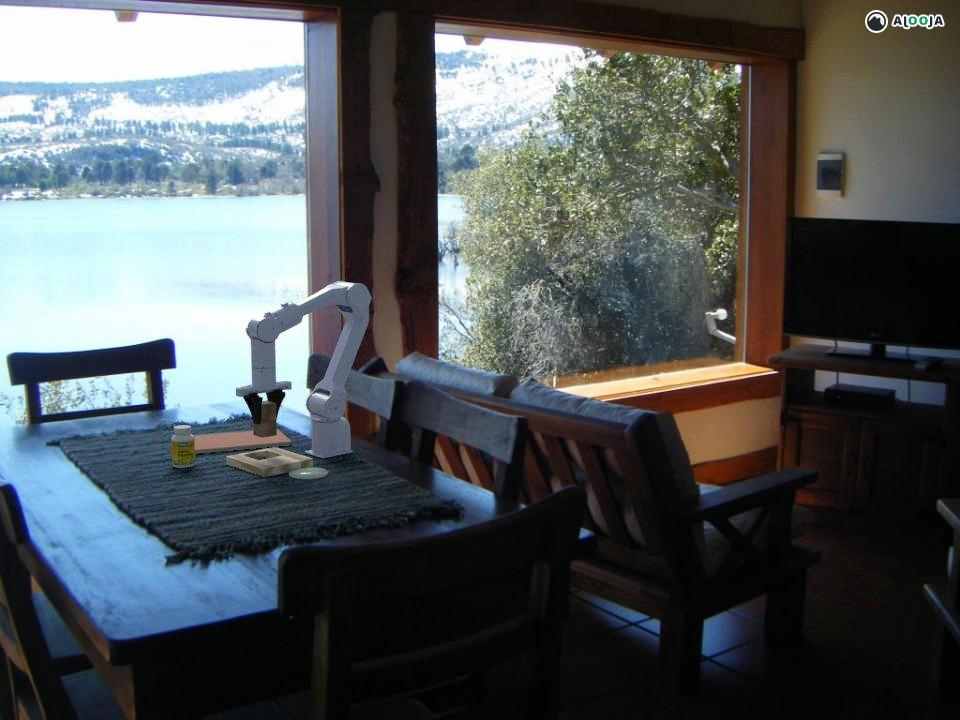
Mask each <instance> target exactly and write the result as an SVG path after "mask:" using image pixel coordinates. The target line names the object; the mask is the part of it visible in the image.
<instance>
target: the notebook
mask: <svg viewBox="0 0 960 720" xmlns="http://www.w3.org/2000/svg"><path fill="white" fill-rule="evenodd" d="M192 435H193V436H194V440H195V455H200V453H203V454H212V453H211V452H216V453H222V452H221V451H228V452H234V451H233V450H239V451H245V450H244V449H250V450H257V449H256V448H262V449H267V447H276V448H280V447H279V446H285V447H290V446H291V445H290V443H292V440H291V439H290V438H288V437H287V435H285V434H284V433H283V432H281V430H279V429H278V428H277V435H275V436H270V437H264V438H262V437H258V436H255V435H253V429H251V430H250V429H249V430H248V429H247V430H241V431H240V430H238V431H237V430H236V431H233V432H232V431H228V432H227V431H226V432H224V431H223V432H217V433H216V432H214V433H213V432H212V433H201V434H195V435H194V434H192ZM289 445H290V446H289ZM198 453H199V454H198Z"/></svg>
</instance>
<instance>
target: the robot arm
mask: <svg viewBox="0 0 960 720" xmlns="http://www.w3.org/2000/svg"><path fill="white" fill-rule="evenodd" d="M372 299H373V298H372V295H371V294H370V291H369V289H368V287H367V286H366V285H365V284H363V283H359V282H357V283H356V282H355V283H354V282H347V281H344V280H337V281H335V282H333V283H331V284H328V285H326V286H325V287H324V288H322V289H321V290H319V291H317V292H316V293H314V294H312V295H310V296H308V297H307V298H305V299H302V300H301V301H300V302H298V303H294V302H293V301H292V302H290V301H289V302H286V301H284V302H282V303H280V306H279V307H277V308H275V309H274V310H271V311H269V310H267V311H265V312H264V315H263V316H261V315H259V316H257V315H256V316H254V317H252V318H251V319H250V320H249V321H248V323H247V327H246V328H245V332H246V333H245V334H246V335H247V337H248V338H249V340H250V358H251V359H250V361H251V365H250V366H251V384H248V385H243V386H239V387H235V397H238V398H241V397H242V398H243V401H244V402H245V404H246V405H247V407H248V409H249V412H250V416H251V419H252V423H254V424H260V422H261V404H262V401H264V400H263V399H264V397H263V396H260V395H259V394H265V396H266V399H267V401H271V402H275V403H276V422H277V421H278V420H277V419H278V417H279V416H278V415H279V411H280V408H281V405H282V403H283V401H284V399H285V398H286V392H285V391H289V390H292V389H293V388H292V387H293V386H292V383H293V382H292V381H290V380H283V381H281V380H280V381H277V367H276V366H277V364H276V363H277V362H276V361H277V360H276V359H277V358H276V356H277V355H276V340H278V338H279V336H280V334H283V333H285V332H286V331H288V330H290V329H292V328H294V327H296V326H298V325H299V324H301V323H302V321H303V318H304V316H305V317H306V316H307V315H308V314H311V313H313V312H315V311H318V310H320V309H322V308H325V307H326V306H329V305H334V306H335V307H336V308H337V309H338V310H339V312H340V313H341V314H342V316H343V319H344V321H345V323H344V325H343V328H342V330H341V333H340V336H339V339H338V341H337V344H336V346H335V348H334V351H333V354H332V357H331V359H330V362H329V364H328V367H327V369H326V372H325V375H324V377H323V379H321V380H320V381H319V382H318V383H316V385H315V386H314V389H313V391H311V393H310V394H309V395H308V396H307V397H306V402H305V406H306V410H307V411H308V413H310V418H311V422H310V423H311V449H310V450H304V453H305V454H307V455H309V456H310V455H311V456H313V457H317V458H319V459H327V458H332V457H338V456H342V455H347V454H350V453H353V450H352V449H351V448H352V447H351V446H352V445H351V439H352V438H351V424H350V422H349V420H348V419H347V418H346V417H344V414H345V412H346V400H347V398H348V393H347V391H346V387H345V385H346V383H347V380H348V377H349V374H350V373H351V372H350V371H351V369H352V367H353V365H354V362H355V360H356V356H357V353H358V350H359V349H360V346H361V343H362V340H363V339H364V336H365V333H366V330H367V328H368V325H369V322H370V304H371V301H372ZM337 455H338V456H337Z"/></svg>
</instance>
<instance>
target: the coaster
mask: <svg viewBox="0 0 960 720" xmlns="http://www.w3.org/2000/svg"><path fill="white" fill-rule="evenodd" d="M328 475H329V472H328V470H327V469H325V468H323V467H315V466H313V467H307V468H298V469H294V470H291V471H290V472H288V476H289V477H290V478H292V479H297V480H304V481H305V480H317V479H322V478H326V476H328Z"/></svg>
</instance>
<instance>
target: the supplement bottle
mask: <svg viewBox="0 0 960 720" xmlns="http://www.w3.org/2000/svg"><path fill="white" fill-rule="evenodd" d="M173 433H174V435H172V437H171V460H172V467H173V468H176V469H188V468H187V467H189V468H191V467H194V466H195V465H196V454H195V440H194V436H195V435H194V434H192V426H191V425H187V424H182V425H181V424H180V425H175V426H173ZM193 435H194V436H193ZM185 467H186V468H185Z"/></svg>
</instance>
